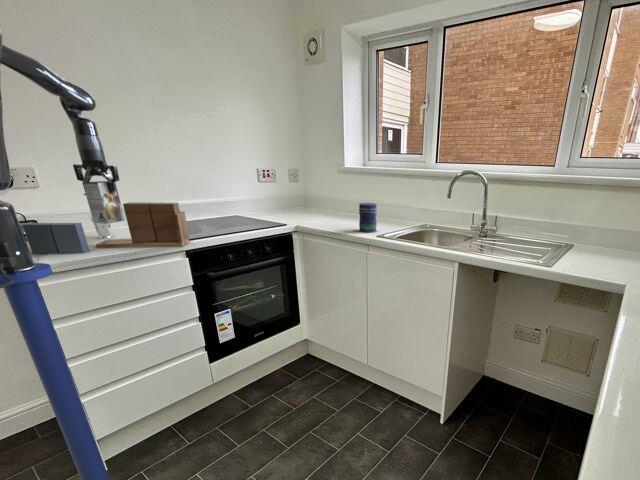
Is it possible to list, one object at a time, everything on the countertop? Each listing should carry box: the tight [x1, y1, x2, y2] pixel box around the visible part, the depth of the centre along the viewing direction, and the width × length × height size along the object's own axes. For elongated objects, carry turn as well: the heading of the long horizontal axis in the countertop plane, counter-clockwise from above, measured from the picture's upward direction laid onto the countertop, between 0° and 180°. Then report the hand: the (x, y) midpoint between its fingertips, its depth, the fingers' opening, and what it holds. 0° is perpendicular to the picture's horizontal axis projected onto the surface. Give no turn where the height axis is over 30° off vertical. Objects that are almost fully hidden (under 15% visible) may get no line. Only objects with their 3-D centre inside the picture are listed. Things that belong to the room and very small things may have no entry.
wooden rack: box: [95, 210, 190, 249], centre depth 150 cm, size 10×32×14 cm, turn 103°
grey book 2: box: [50, 222, 90, 254], centre depth 135 cm, size 4×8×11 cm, turn 103°
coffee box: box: [81, 180, 126, 225], centre depth 143 cm, size 9×6×16 cm
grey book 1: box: [22, 222, 60, 255], centre depth 133 cm, size 4×8×11 cm, turn 103°
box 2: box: [149, 201, 181, 242], centre depth 151 cm, size 6×9×16 cm, turn 104°
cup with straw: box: [83, 193, 113, 239], centre depth 159 cm, size 8×9×20 cm
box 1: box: [122, 201, 157, 242], centre depth 149 cm, size 6×9×16 cm, turn 104°
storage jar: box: [358, 202, 378, 233], centre depth 197 cm, size 10×10×15 cm
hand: (102, 192), depth 142 cm, fingers closed on coffee box, 7 cm apart
